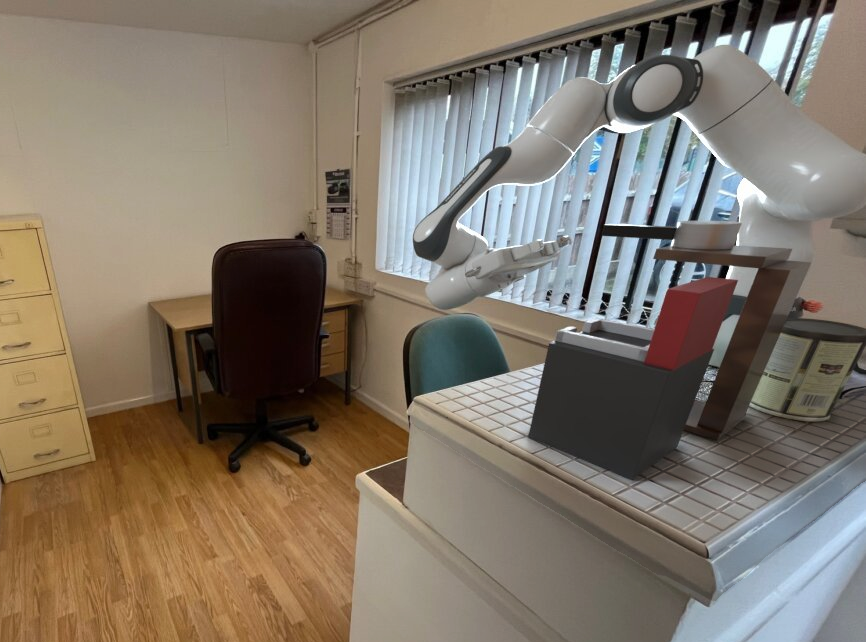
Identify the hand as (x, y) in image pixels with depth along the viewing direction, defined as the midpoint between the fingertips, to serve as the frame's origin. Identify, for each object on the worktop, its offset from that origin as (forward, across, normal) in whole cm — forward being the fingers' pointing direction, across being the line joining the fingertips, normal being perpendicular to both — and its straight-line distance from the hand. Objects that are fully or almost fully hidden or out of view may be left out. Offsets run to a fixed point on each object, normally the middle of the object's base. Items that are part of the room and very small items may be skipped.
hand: (555, 241), depth 85 cm
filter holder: (+14, 0, +8) cm, 16 cm away
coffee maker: (+7, -20, +33) cm, 39 cm away
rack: (+9, 0, +34) cm, 36 cm away
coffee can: (+17, +16, +39) cm, 46 cm away
